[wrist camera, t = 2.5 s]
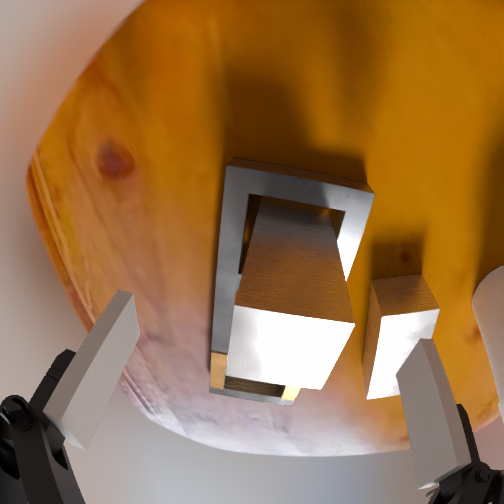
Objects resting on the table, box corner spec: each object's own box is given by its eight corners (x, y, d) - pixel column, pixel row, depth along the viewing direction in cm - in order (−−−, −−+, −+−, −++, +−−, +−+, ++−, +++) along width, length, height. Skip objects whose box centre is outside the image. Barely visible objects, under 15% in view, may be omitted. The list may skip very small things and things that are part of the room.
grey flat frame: (232, 157, 19) (226, 166, 17) (367, 183, 19) (375, 195, 17) (213, 378, 32) (209, 393, 30) (292, 391, 31) (291, 407, 29)
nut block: (370, 278, 23) (382, 316, 19) (421, 272, 22) (439, 308, 18) (361, 363, 28) (366, 399, 24) (402, 357, 27) (410, 392, 23)
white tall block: (262, 195, 20) (233, 305, 11) (327, 207, 20) (354, 323, 11) (253, 251, 22) (225, 375, 13) (313, 262, 22) (320, 389, 13)
